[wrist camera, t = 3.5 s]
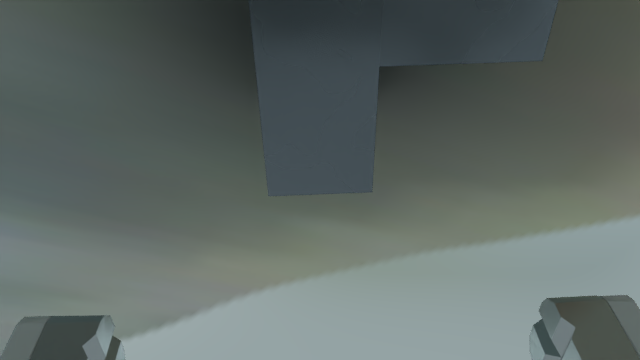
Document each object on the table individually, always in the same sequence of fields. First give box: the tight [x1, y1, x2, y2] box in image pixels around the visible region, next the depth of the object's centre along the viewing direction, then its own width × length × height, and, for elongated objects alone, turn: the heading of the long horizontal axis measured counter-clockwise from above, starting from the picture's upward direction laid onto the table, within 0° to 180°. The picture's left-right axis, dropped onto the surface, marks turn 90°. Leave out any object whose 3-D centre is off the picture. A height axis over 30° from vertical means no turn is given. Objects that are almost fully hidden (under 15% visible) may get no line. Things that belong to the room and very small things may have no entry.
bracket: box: [249, 0, 558, 196], centre depth 15 cm, size 7×7×5 cm
